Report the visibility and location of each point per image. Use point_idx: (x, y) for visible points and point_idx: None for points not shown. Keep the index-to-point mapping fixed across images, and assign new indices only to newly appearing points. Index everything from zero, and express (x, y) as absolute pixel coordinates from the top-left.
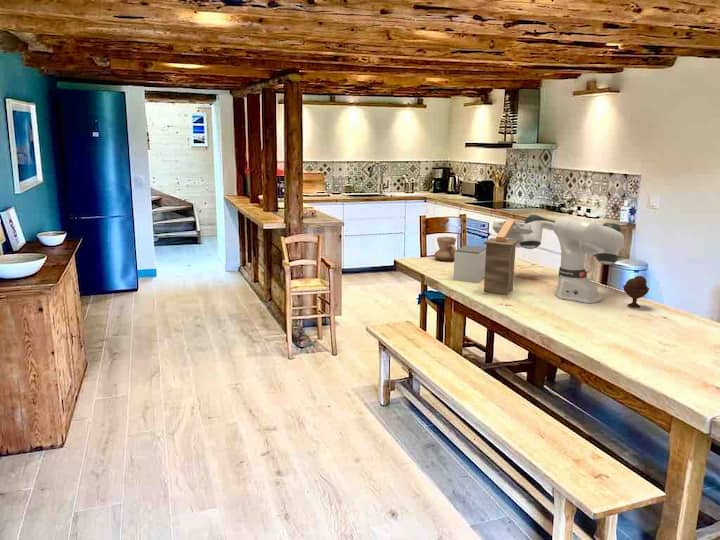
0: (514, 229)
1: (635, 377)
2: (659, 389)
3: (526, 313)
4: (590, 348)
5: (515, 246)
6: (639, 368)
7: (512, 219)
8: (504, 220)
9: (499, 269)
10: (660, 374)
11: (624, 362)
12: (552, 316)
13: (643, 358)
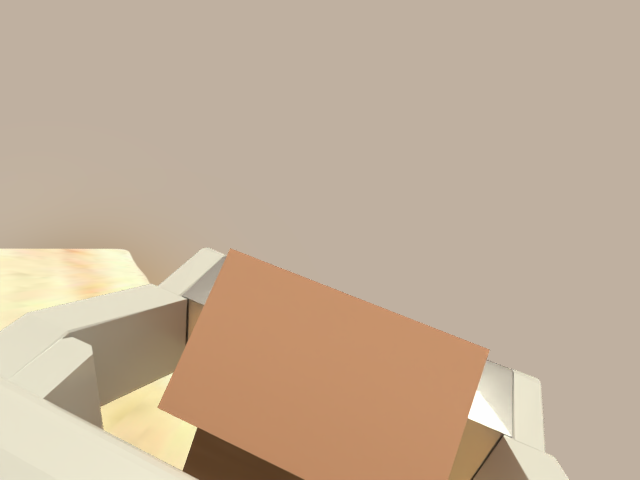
0: None
1: (141, 276)
2: (134, 265)
3: (185, 423)
4: None
5: (196, 435)
6: (117, 277)
7: (303, 278)
8: (509, 369)
9: None
10: (103, 268)
11: (125, 285)
12: None
13: (85, 279)
